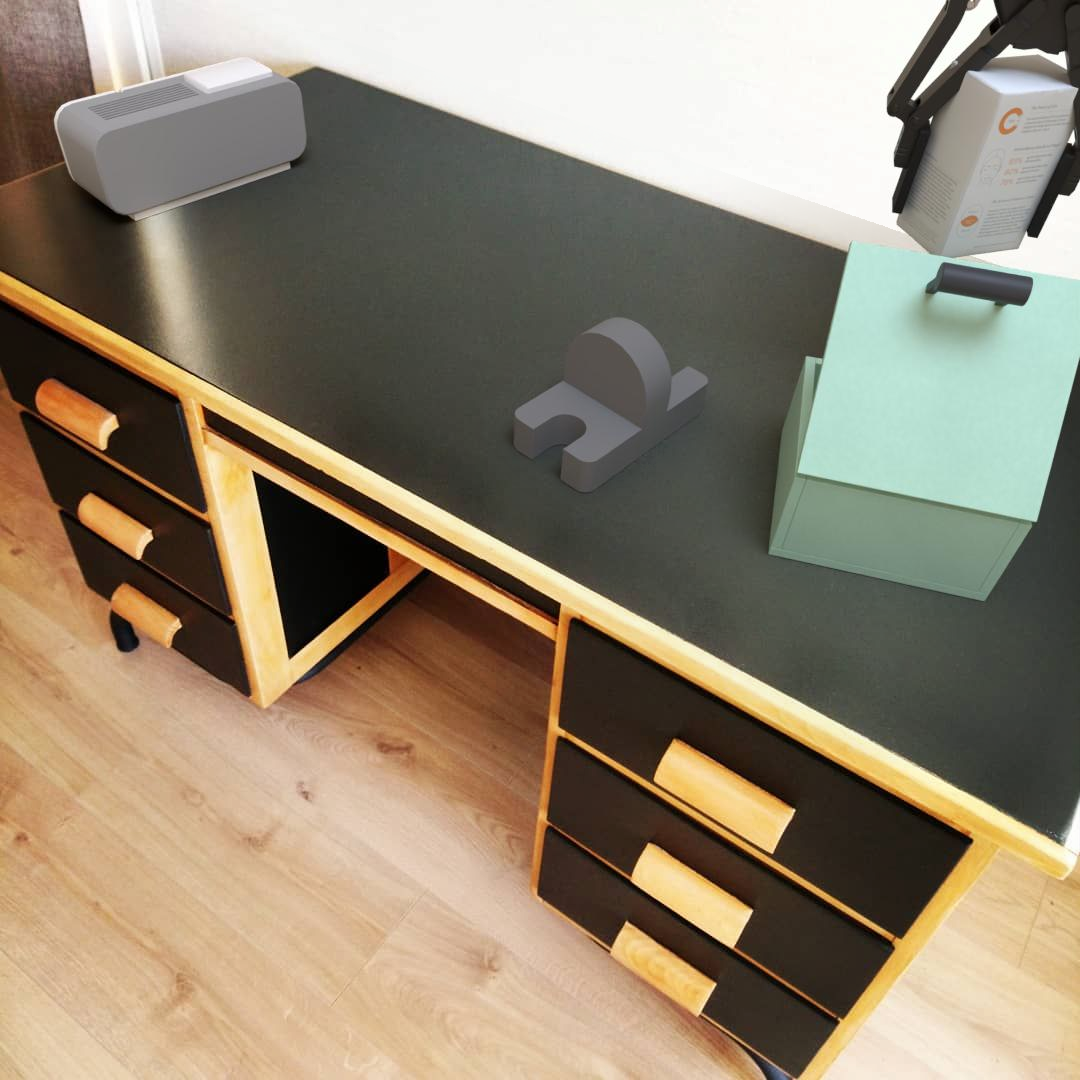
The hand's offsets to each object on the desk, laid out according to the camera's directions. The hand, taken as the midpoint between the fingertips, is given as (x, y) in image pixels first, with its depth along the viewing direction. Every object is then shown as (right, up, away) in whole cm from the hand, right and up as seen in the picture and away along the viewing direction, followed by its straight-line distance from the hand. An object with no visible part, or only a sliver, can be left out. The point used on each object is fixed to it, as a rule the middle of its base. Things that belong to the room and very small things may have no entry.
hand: (963, 217), depth 76 cm
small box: (0, -1, +1) cm, 2 cm away
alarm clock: (-77, +19, +42) cm, 90 cm away
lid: (-4, -14, -5) cm, 16 cm away
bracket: (-28, -15, +14) cm, 35 cm away
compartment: (-4, -23, +8) cm, 25 cm away
